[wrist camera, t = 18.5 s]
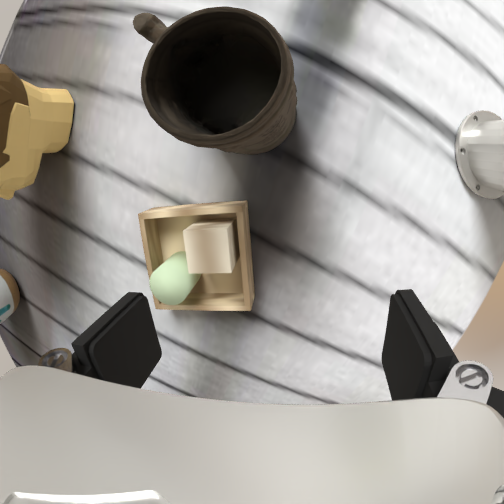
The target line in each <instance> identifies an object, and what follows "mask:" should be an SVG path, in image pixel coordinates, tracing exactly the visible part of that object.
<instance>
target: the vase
mask: <svg viewBox="0 0 504 504" xmlns="http://www.w3.org/2000/svg"><path fill="white" fill-rule="evenodd" d="M19 300H20V294H19V289H18V286H17V283H16V281H15V279H14V278H13V276H12V275H11V274H10V273H9V272H7V271H6V270H3V269H0V323H2V322H3V321H4V320H6V319H7V318H8V317H9V316H10V315H11V314H12V313H13V312H14V311H15V310H16V309H17V307H18V304H19Z"/></svg>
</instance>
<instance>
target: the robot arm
mask: <svg viewBox="0 0 504 504" xmlns="http://www.w3.org/2000/svg"><path fill="white" fill-rule="evenodd" d="M460 150H461V151H460ZM455 154H456V161H457V165H458V169H459V171H460V174H461V176H462V178H463V180H464V181H465V183H466V185H467V186H468V187H469V188H470V189H471V190H472V191H473V192H474V193H475V194H477V195H479V196H481V197H484V198H487V199H496V198H500V197H502V196H503V195H504V120H502V119H501V118H500V117H499V116H498V115H496V114H494V113H492V112H489V111H483V110H482V111H476V112H473V113H471V114H469V115H468V116H466V117H465V119H464V120H463V121H462V123H461V124H460V126H459V129H458V132H457V135H456V142H455ZM71 344H72V347H73V349H74V351H75V352H74V353H73V354H72V353H71V351H70V350H68V349H66V348H57V349H53V350H51V351H49V352H47V353H45V354H44V355H43V356H42V357H41V358H40V360H39V363H38V366H22V367H17V368H14V369H11V370H10V371H8V372H7V373H6V374H4V375H3V376H2V377H0V504H504V391H502V390H499V389H497V388H494V387H492V384H493V375H492V372H491V371H490V370H489V368H488V367H486V366H484V365H483V364H481V363H479V362H476V361H462V362H459V361H458V359H457V357H456V356H455V354H454V352H453V351H452V349H451V347H450V346H449V344H448V342H447V341H446V339H445V337H444V336H443V334H442V333H441V331H440V329H439V328H438V326H437V325H436V324H435V322H433V320H432V319H431V317H430V316H429V314H428V313H427V311H426V310H425V308H424V307H423V305H422V304H421V302H420V301H419V299H418V298H417V296H416V295H415V293H414V292H413V290H412V289H409V290H397V291H396V293H395V294H392V295H391V298H390V306H389V314H388V321H387V328H386V334H385V340H384V346H383V351H382V364H383V368H384V371H385V375H386V379H387V382H388V386H389V390H390V394H391V398H392V401H378V402H365V403H349V404H318V405H296V404H264V403H247V402H234V401H223V400H213V399H204V398H196V397H188V396H181V395H174V394H168V393H162V392H156V391H150V390H145V389H141V387H142V386H143V384H144V383H145V381H146V380H147V378H148V377H149V375H150V374H151V372H152V371H153V369H154V368H155V366H156V365H157V363H158V362H159V360H160V358H161V355H162V351H161V347H160V344H159V340H158V337H157V333H156V330H155V326H154V322H153V319H152V315H151V311H150V307H149V303H148V299H147V297H145V296H144V295H143V294H142V293H137V292H128V293H127V294H126V295H125V296H123V297H122V298H121V299H120V300H119V301H118V302H117V303H115V304H114V305H113V306H112V307H111V308H110V309H109V310H108V311H106V312H105V313H104V314H103V315H102V316H101V317H100V318H99V319H98V320H96V321H95V322H94V323H93V324H92V325H91V326H90V327H89V328H88V329H87V330H85V331H84V332H83V333H82V334H81V335H80V336H79V337H78V338H77V339H76V340H75V341H74V342H72V343H71Z"/></svg>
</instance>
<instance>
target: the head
mask: <svg viewBox="0 0 504 504" xmlns="http://www.w3.org/2000/svg"><path fill="white" fill-rule="evenodd" d="M73 108H74V102H73V99H72V97H71V95H70V93H69V92H68V91H67V90H66V89H48V88H38V87H36V86H34V85H32V84H30V83H28V82H26V81H24V80H22V79H20V78H19V77H18V76H17V75H16V74H15V73H14V72H13V71H12V70H11V69H10V68H9V67H8V66H7V65H5V64H0V197H1V198H4V199H7V200H9V199H11V198H13V195H14V191H15V190H19V189H22V188H24V187H26V186H29V185H31V184H33V183H34V180H35V178H36V176H37V172H38V169H39V166H40V161H41V157H42V153H55V152H58V151H59V150H61V149H62V148H63V147H64V146H65V145H66V144H67V143H68V140H69V135H70V130H71V125H72V118H73Z"/></svg>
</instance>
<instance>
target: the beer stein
mask: <svg viewBox="0 0 504 504" xmlns="http://www.w3.org/2000/svg"><path fill="white" fill-rule="evenodd" d="M133 25H134V28H135V30H136V31H137V32H138V33H139V34H140V35H142V36H143V37H145V38H146V39H147V40H149V41H150V42H152V43H154V44H153V45H152V47H151V49H150V51H149V53H148V55H147V57H146V60H145V63H144V66H143V71H142V77H141V91H142V97H143V100H144V103H145V106H146V108H147V110H148V112H149V114H150V116H151V117H152V118H153V119H154V120H155V122H156V123H157V124H158V125H159V126H160V127H161V128H163V129H164V130H165V131H166V132H168V133H169V134H171V135H172V136H174V137H175V138H177V139H178V140H180V141H183V142H186V143H189V144H191V145H194V146H197V147H206V148H217V149H220V150H222V151H225V152H233V153H239V154H250V155H252V154H260V153H264V152H268V151H270V150H272V149H274V148H275V147H277V146H278V145H280V144H281V143H282V142H283V141H284V140H285V139H286V138H287V136H288V135H289V134H290V132H291V130H292V128H293V126H294V123H295V118H296V105H297V97H296V92H297V90H296V85H295V82H294V66H293V60H292V57H291V54H290V51H289V48H288V46H287V44H286V43H285V41H284V40H283V38H282V37H281V35H280V34H279V33H278V32H277V30H276V29H275V27H273V26H272V25H271V24H270V23H269V22H268V21H267V20H266V19H264V18H263V17H261V16H259V15H257V14H255V13H253V12H250V11H248V10H245V9H240V8H233V7H214V8H206V9H203V10H199V11H196V12H193V13H191V14H189V15H187V16H185V17H183V18H181V19H179V20H178V21H176V22H175V23H173V24H172V25H171V26H169V27H166V26H165V24H164V23H163V22H162V21H161V20H159V19H158V18H157V17H156V16H155V15H152V14H150V13H141V14H139V15H137V16H135V18H134V20H133Z"/></svg>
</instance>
